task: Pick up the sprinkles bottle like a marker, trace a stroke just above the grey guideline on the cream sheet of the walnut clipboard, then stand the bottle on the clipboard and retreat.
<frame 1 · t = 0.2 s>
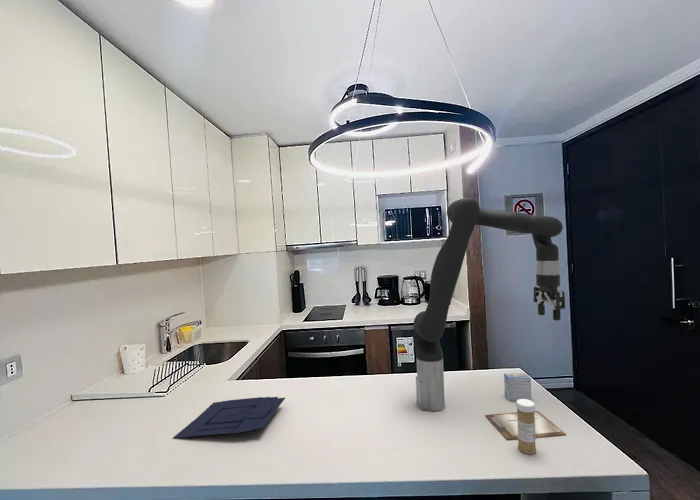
hand: (548, 317, 125), 29 cm above the counter, fingers open, 8 cm apart
clipboard: (523, 425, 108), on the counter
navy blue folded cloth: (234, 422, 119), on the counter
sprinkles bottle: (527, 450, 96), on the counter
medicine box: (517, 399, 125), on the counter
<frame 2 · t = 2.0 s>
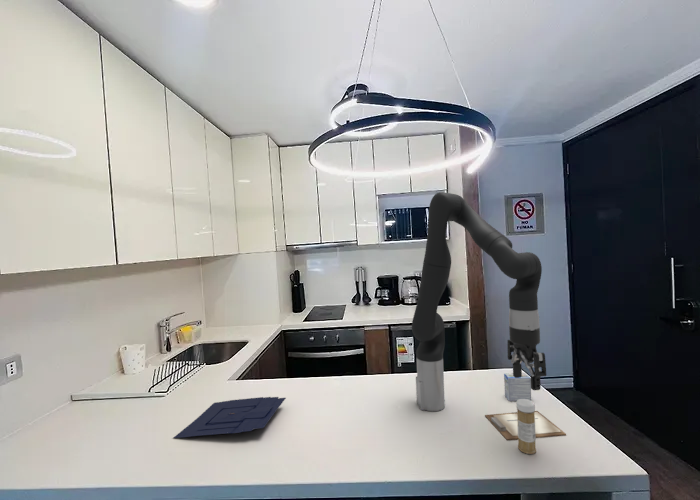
hand: (526, 383, 96), 18 cm above the counter, fingers open, 8 cm apart
nothing on the counter moved.
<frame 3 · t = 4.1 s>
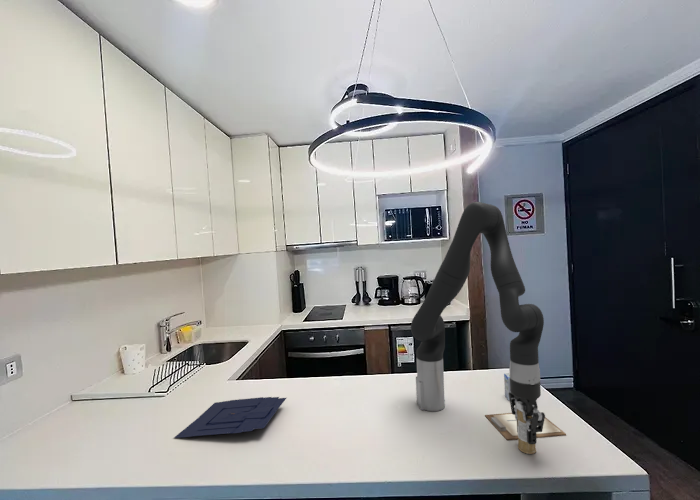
hand: (526, 438, 95), 3 cm above the counter, fingers closed on sprinkles bottle, 4 cm apart
sprinkles bottle: (527, 450, 96), on the counter, touching gripper
everything else where it was.
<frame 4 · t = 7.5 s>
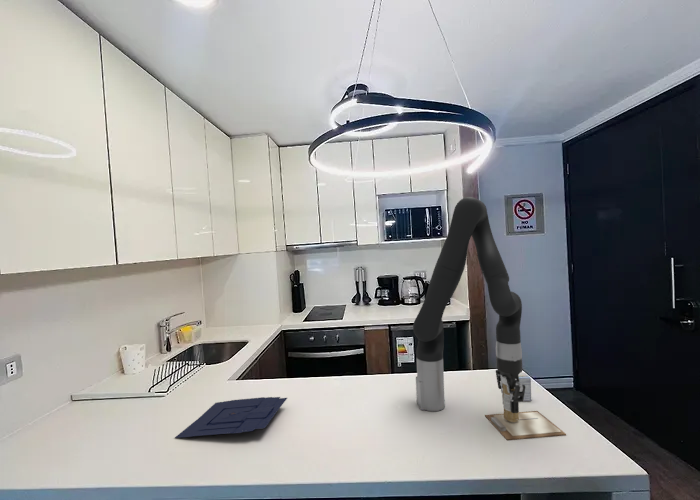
hand: (510, 408, 110), 5 cm above the counter, fingers closed on sprinkles bottle, 4 cm apart
sprinkles bottle: (511, 419, 110), point 1 cm above the counter, touching gripper
everything else where it was.
when the fingers open (4 cm above the counter, at t = 10.9 s): sprinkles bottle stays where it is, resting on clipboard.
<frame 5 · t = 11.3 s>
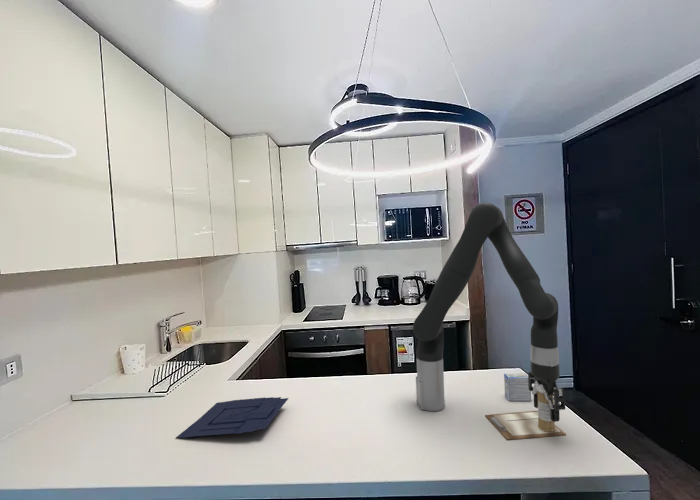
hand: (546, 413, 104), 5 cm above the counter, fingers open, 7 cm apart
sprinkles bottle: (546, 429, 104), resting on clipboard
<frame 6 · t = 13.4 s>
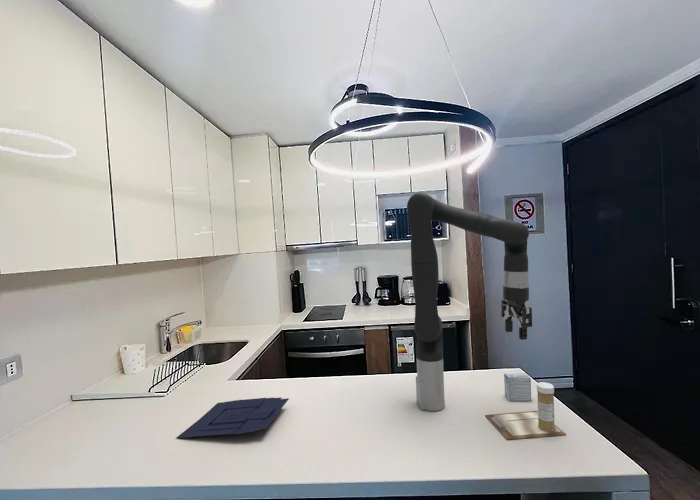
hand: (515, 335, 111), 27 cm above the counter, fingers open, 8 cm apart
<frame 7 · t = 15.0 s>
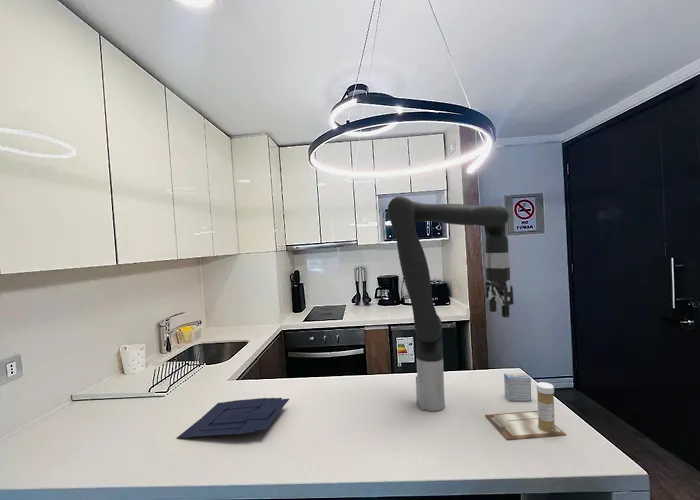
hand: (499, 314, 116), 33 cm above the counter, fingers open, 8 cm apart
at the end: sprinkles bottle inside the target area on the clipboard (6.3 cm from its centre), point 0.4 cm above the clipboard's base; sprinkles bottle tilted 0°; the gripper is holding nothing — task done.
